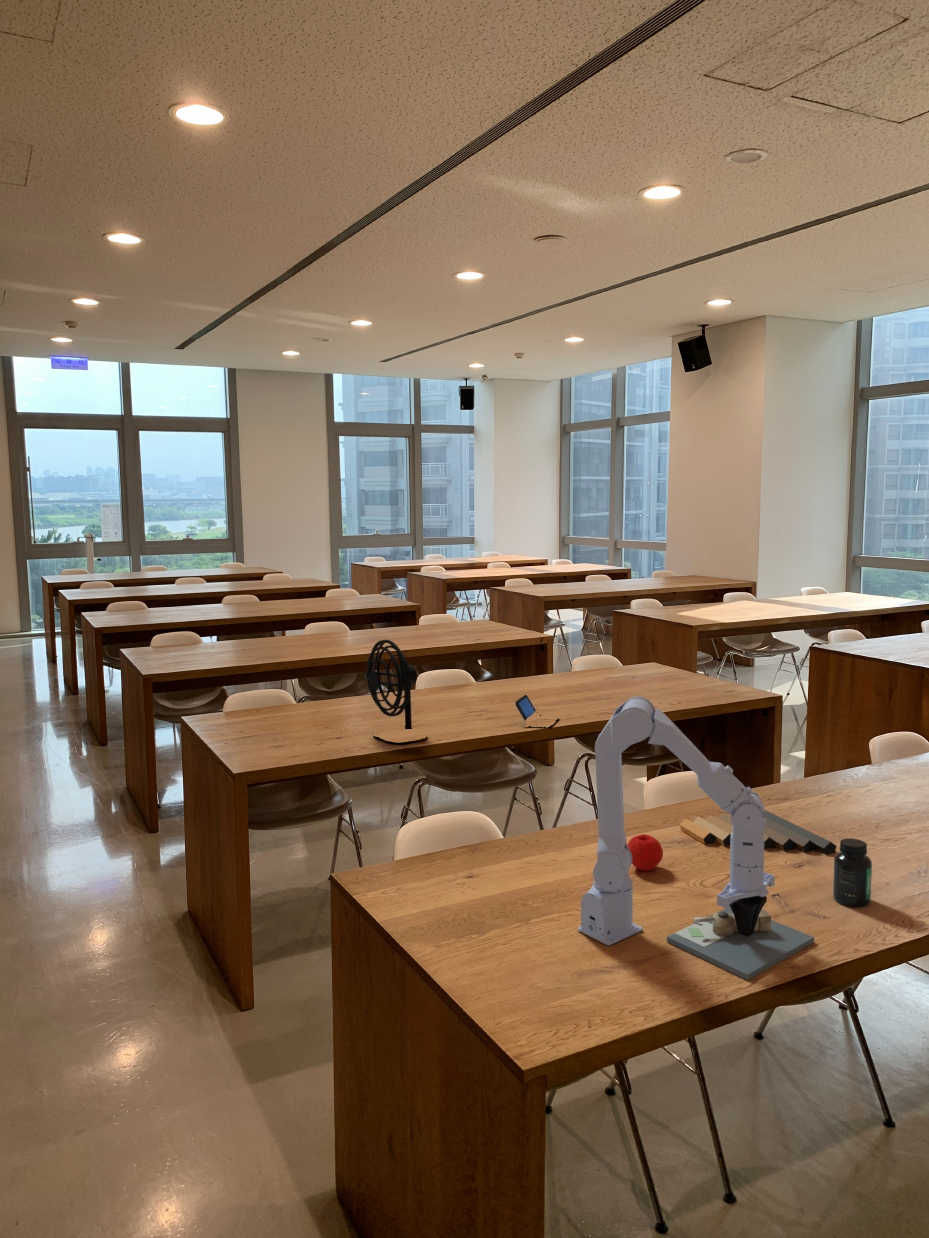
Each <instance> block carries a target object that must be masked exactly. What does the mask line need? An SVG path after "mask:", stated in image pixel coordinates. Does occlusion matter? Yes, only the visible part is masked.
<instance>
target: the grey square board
mask: <svg viewBox="0 0 929 1238" xmlns="http://www.w3.org/2000/svg"><path fill="white" fill-rule="evenodd" d="M721 911H722V912H728V913H730V914H733V912H732V909H731V907H730V906H729V908H727V909H726V908H723V909H722V910H721ZM712 916H713V914H712V915H710V916H708V917H712ZM666 942H667V943H669V944H671V945H672V946H675V947H677V948H678V949H680V950H683V951H685V952H687V953H689V954H691V955H694V956H696V957H698V958H700V959H702V960H704V961H706V962H708V963H710V964H712V965H715V966H717V967H719V968H720V969H723V970H725V971H727V972H730V973H731V974H733V975H736V976H738V977H739V978H742V979H744V980H746V981H749V980H751V979H752V978H755V977H756V976H758V975H760V974H761V973H763V972H765V971H766V970H768V969H770V968H772V967H774V966H775V965H777V964H779V963H781V962H782V961H784V960H786V959H787V958H789V957H791V956H793V955H795V954H796V953H798V952H800V951H801V950H803V949H805V948H807V947H808V946H810V945H812V944H813V943H815V937H814V936H813V935H810V934H807V933H805V932H803V931H800V930H797V929H795V928H793V927H791V926H787V925H785V924H783V923H780V922H778V921H775V920H773V919H771V931H759V930H756V931H754V933H753V935H750V936H749V937H747V936H744V935H742V934H740V933H739V932H733V934H732V935H730V936H720V935H717V934H715V933H714V932H713V921H708V922H694V921H693V924H691V925H689V926H687V927H684V928H683V929H681V930H678V931H676V932H674V933H671V934H670V935H668V936H666Z"/></svg>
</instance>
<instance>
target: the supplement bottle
mask: <svg viewBox="0 0 929 1238" xmlns="http://www.w3.org/2000/svg"><path fill="white" fill-rule="evenodd" d="M839 842H840V845H839V852H837V853H836V854H835V856H834V859H833V883H832V885H833V887H832V892H833V893H832V895H833V896H832V897H833V899H834V900H835V902H837V903H838V904H840V905H842V906H846V907H850V908H865V907H867V906H868V905H870V903H871V898H872V896H871V895H872V878H873V877H872V875H873V874H872V873H873V863H872V859H871V858H870V857H869V856H868V855H867V854H868V850H867V849H868V844H867V842H865V841H863V840H861V839H857V838H849V837H848V838H843V839H841V840H840V841H839Z"/></svg>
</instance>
